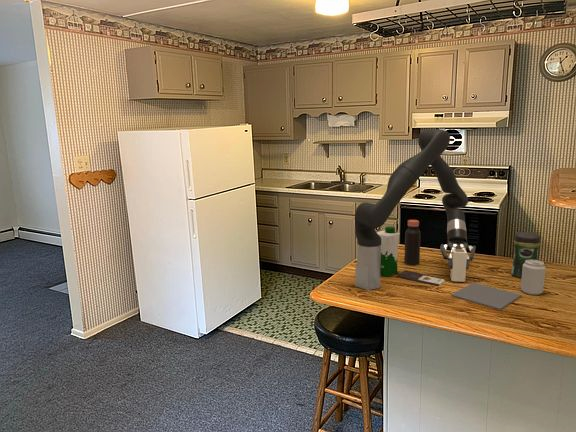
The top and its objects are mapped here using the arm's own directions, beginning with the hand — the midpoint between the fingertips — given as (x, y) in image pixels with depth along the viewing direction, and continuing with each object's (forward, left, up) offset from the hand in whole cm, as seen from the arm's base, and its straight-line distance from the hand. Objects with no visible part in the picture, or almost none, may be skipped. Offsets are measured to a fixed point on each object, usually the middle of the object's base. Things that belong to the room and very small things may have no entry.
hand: (459, 268), depth 175 cm
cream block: (+1, +1, -5) cm, 6 cm away
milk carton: (-11, +27, -6) cm, 30 cm away
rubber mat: (-6, -14, -6) cm, 17 cm away
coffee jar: (+27, -15, -6) cm, 31 cm away
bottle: (+9, +27, -6) cm, 29 cm away
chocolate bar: (-6, +13, -7) cm, 16 cm away
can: (+10, -24, -6) cm, 27 cm away
